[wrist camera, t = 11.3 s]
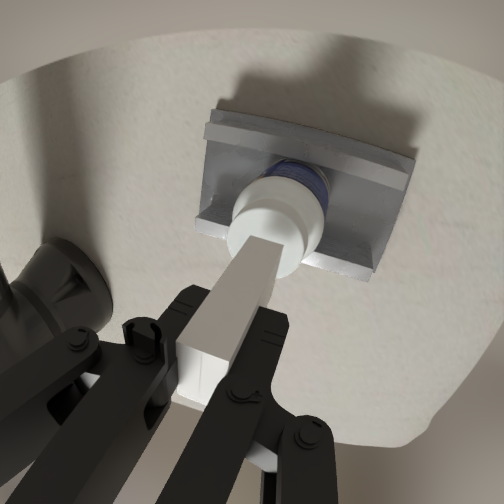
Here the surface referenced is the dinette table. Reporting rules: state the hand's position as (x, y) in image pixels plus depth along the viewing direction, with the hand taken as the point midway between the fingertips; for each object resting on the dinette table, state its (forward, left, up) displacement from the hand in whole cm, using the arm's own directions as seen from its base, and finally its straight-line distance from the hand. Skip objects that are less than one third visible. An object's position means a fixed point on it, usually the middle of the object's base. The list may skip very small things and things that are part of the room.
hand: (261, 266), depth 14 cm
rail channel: (0, 0, -12) cm, 12 cm away
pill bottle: (0, 0, -12) cm, 12 cm away
